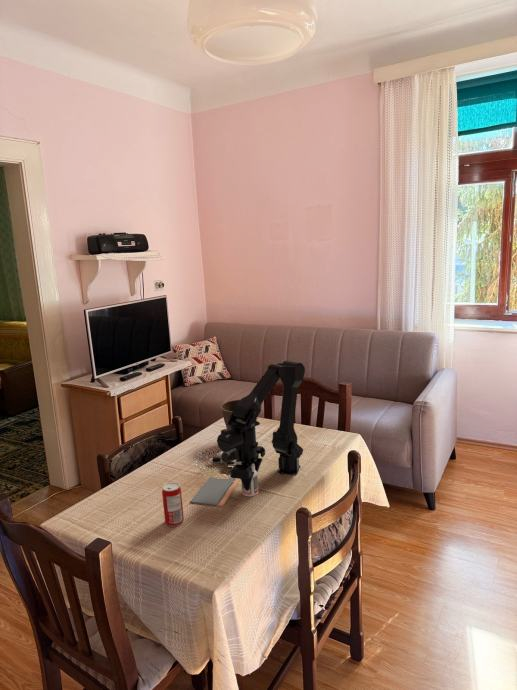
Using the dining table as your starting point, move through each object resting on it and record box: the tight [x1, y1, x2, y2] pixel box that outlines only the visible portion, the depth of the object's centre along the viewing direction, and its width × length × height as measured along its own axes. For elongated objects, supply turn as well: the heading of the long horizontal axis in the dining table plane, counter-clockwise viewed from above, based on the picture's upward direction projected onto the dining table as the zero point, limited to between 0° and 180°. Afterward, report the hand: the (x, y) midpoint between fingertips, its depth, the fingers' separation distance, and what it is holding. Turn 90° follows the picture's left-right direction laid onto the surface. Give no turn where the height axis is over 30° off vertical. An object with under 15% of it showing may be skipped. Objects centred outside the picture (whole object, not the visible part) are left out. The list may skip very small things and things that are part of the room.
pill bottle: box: [240, 464, 259, 497], centre depth 160 cm, size 5×5×10 cm
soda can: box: [161, 481, 185, 527], centre depth 145 cm, size 6×6×12 cm
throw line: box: [218, 478, 241, 508], centre depth 163 cm, size 1×20×1 cm, turn 163°
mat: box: [189, 477, 236, 507], centre depth 165 cm, size 9×20×1 cm, turn 163°
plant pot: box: [220, 399, 258, 429], centre depth 199 cm, size 15×15×16 cm
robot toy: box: [208, 450, 241, 467], centre depth 182 cm, size 12×4×15 cm
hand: (249, 485), depth 160 cm, fingers closed on pill bottle, 5 cm apart
